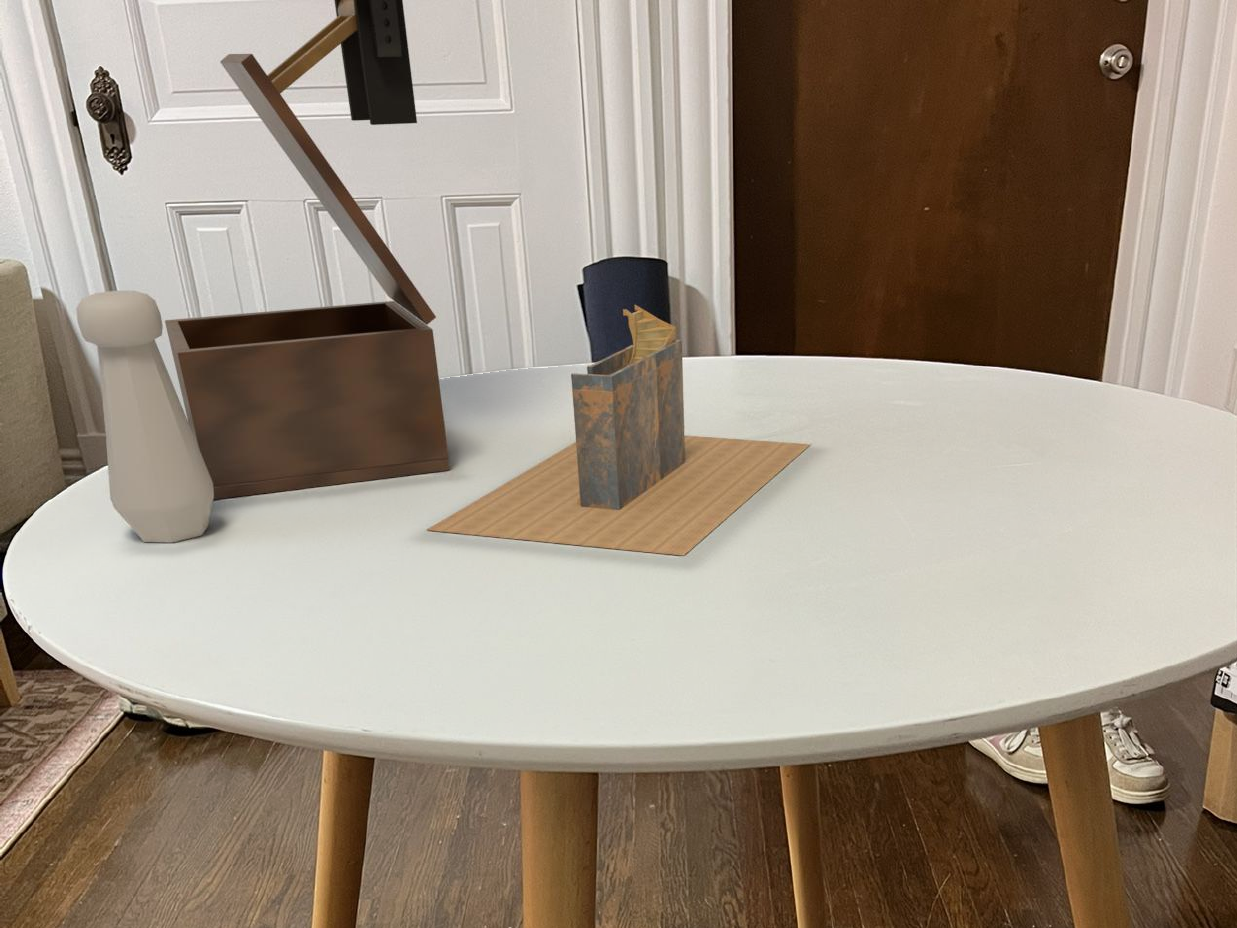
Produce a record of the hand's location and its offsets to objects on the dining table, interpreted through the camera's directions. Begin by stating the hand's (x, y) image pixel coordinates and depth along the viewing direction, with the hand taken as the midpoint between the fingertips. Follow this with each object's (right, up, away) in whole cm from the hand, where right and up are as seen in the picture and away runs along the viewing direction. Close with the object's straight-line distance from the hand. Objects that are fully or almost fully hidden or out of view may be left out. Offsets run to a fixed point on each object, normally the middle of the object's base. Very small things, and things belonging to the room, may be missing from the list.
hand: (383, 120), depth 82 cm
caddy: (-7, -18, +9) cm, 21 cm away
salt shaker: (-12, -27, -4) cm, 30 cm away
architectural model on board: (+16, -22, +3) cm, 27 cm away
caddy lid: (-4, -4, +1) cm, 6 cm away
